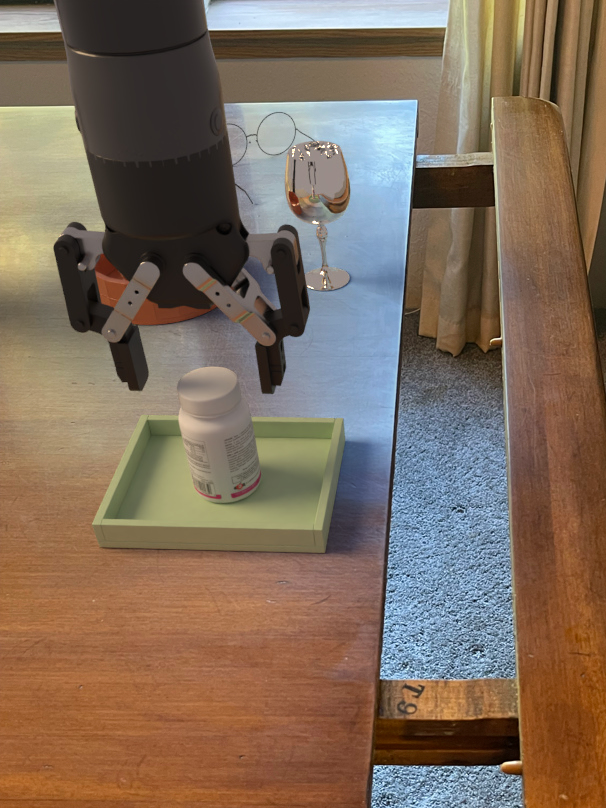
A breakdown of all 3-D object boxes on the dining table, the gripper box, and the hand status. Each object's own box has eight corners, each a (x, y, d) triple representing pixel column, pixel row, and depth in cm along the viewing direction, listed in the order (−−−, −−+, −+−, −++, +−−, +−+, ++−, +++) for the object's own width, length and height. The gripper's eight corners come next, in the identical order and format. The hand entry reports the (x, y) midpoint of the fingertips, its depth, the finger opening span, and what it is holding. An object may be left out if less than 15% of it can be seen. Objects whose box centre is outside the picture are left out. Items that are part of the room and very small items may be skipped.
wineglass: (358, 292, 88) (349, 162, 79) (295, 296, 87) (280, 166, 79) (355, 262, 92) (346, 136, 84) (295, 266, 92) (281, 140, 83)
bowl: (74, 324, 85) (62, 283, 82) (116, 255, 94) (106, 216, 92) (219, 325, 84) (212, 284, 81) (247, 256, 93) (241, 217, 91)
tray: (99, 547, 63) (91, 524, 62) (147, 436, 72) (141, 414, 71) (325, 553, 62) (322, 529, 61) (345, 440, 71) (343, 417, 70)
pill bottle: (260, 458, 69) (243, 358, 63) (264, 500, 65) (247, 398, 60) (193, 466, 68) (170, 367, 63) (194, 509, 65) (170, 408, 59)
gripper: (299, 103, 52) (322, 356, 63) (47, 101, 53) (113, 351, 64) (276, 157, 47) (305, 423, 58) (-4, 154, 48) (78, 417, 59)
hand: (204, 385), depth 61 cm, fingers open, 8 cm apart
